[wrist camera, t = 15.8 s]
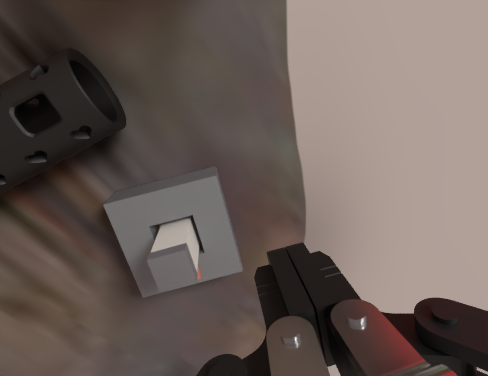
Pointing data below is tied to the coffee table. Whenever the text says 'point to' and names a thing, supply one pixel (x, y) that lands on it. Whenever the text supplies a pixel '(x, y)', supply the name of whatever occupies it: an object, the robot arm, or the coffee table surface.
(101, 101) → the muzzle brake
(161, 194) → the socket
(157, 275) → the plug
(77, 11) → the coffee table surface
